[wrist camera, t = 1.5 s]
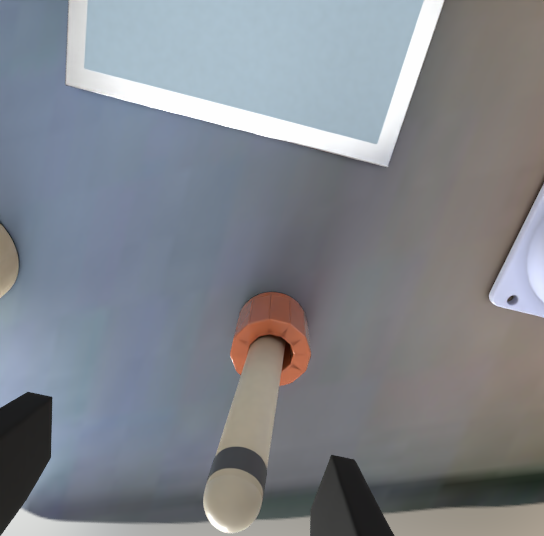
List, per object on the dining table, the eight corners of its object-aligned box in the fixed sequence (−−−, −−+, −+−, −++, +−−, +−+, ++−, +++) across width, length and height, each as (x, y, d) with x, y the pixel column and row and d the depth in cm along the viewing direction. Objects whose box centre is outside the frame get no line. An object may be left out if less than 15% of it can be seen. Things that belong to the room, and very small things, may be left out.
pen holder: (314, 300, 19) (319, 330, 16) (296, 358, 20) (298, 394, 18) (246, 284, 19) (239, 311, 16) (232, 343, 20) (224, 378, 18)
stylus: (291, 317, 19) (265, 513, 9) (283, 343, 20) (250, 555, 10) (260, 308, 19) (200, 494, 9) (253, 335, 20) (190, 538, 10)
